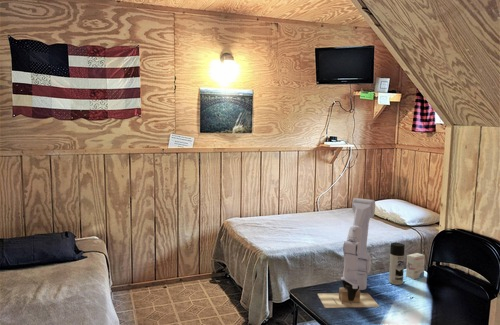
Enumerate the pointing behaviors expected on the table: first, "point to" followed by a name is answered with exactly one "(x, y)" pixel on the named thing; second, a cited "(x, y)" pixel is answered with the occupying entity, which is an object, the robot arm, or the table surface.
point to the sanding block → (344, 296)
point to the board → (334, 302)
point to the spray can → (396, 263)
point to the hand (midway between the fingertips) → (349, 297)
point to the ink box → (415, 265)
